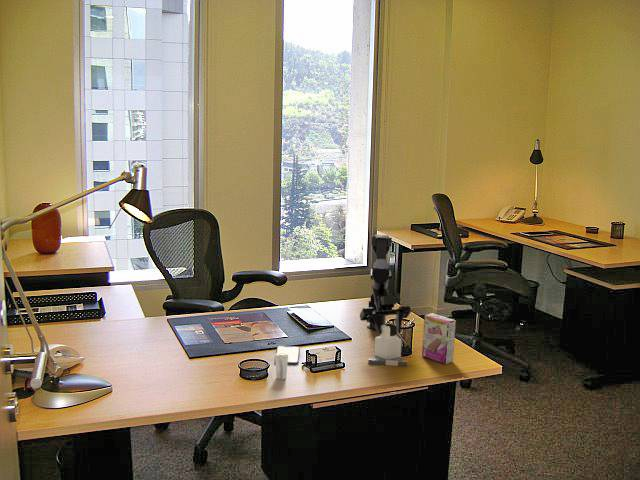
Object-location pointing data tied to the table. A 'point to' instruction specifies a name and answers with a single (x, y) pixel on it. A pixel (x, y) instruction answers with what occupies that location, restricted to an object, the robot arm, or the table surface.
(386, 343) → the medicine bottle
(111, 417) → the table surface
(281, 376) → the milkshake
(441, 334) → the candy bar box
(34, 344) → the table surface
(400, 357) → the slate mat
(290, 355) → the phone case
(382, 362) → the marker pen
